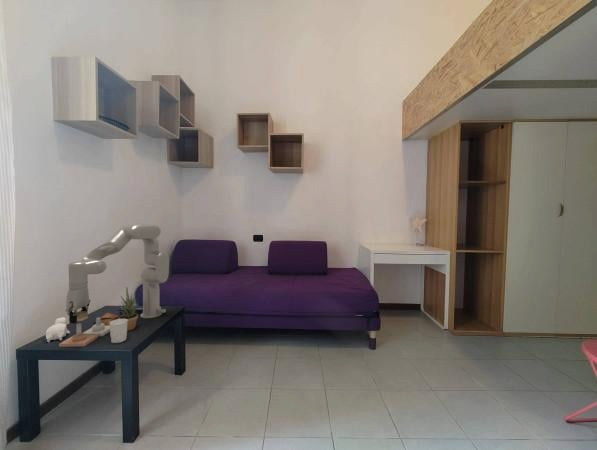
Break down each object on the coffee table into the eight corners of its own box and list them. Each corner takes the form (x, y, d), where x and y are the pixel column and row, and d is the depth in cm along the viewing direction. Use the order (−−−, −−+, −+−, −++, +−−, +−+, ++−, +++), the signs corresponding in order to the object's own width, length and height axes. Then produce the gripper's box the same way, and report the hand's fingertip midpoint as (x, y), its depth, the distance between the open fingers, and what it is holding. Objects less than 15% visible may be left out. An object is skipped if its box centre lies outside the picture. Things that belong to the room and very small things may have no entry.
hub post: (97, 337, 147) (97, 319, 146) (84, 346, 137) (84, 326, 136) (74, 338, 146) (73, 319, 146) (59, 346, 136) (58, 326, 136)
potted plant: (123, 326, 162) (122, 284, 162) (140, 324, 164) (140, 284, 164) (115, 333, 153) (115, 289, 152) (134, 331, 155) (133, 288, 154)
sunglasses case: (109, 326, 162) (102, 316, 161) (97, 333, 160) (90, 324, 159) (120, 315, 179) (114, 307, 178) (109, 322, 178) (103, 313, 177)
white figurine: (66, 344, 145) (72, 324, 157) (64, 332, 142) (71, 313, 154) (44, 348, 141) (53, 327, 153) (42, 335, 138) (51, 315, 150)
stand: (114, 328, 159) (114, 314, 159) (102, 336, 148) (102, 321, 148) (94, 328, 159) (94, 314, 158) (81, 336, 148) (80, 322, 147)
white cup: (108, 344, 138) (107, 325, 138) (111, 338, 146) (111, 319, 145) (126, 342, 142) (126, 323, 141) (128, 336, 149) (128, 317, 149)
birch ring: (90, 316, 145) (90, 310, 145) (81, 321, 138) (80, 315, 138) (76, 316, 144) (76, 311, 144) (66, 321, 137) (66, 315, 137)
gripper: (82, 282, 149) (83, 314, 149) (57, 290, 132) (57, 327, 132) (97, 281, 149) (97, 314, 150) (73, 290, 132) (73, 326, 133)
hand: (78, 320), depth 141 cm, fingers closed on birch ring, 7 cm apart
